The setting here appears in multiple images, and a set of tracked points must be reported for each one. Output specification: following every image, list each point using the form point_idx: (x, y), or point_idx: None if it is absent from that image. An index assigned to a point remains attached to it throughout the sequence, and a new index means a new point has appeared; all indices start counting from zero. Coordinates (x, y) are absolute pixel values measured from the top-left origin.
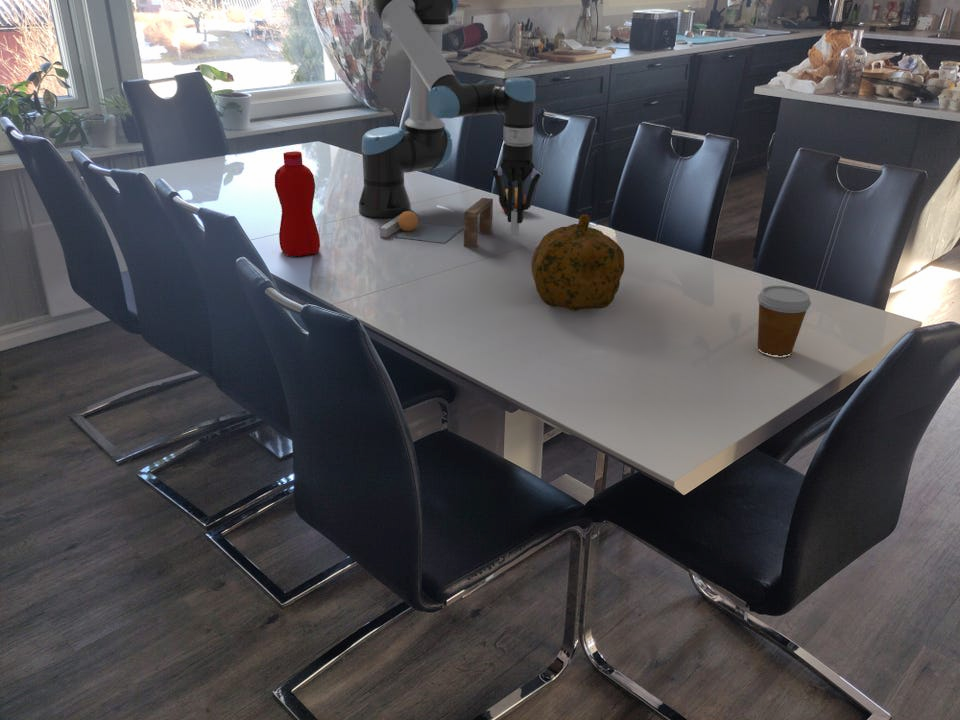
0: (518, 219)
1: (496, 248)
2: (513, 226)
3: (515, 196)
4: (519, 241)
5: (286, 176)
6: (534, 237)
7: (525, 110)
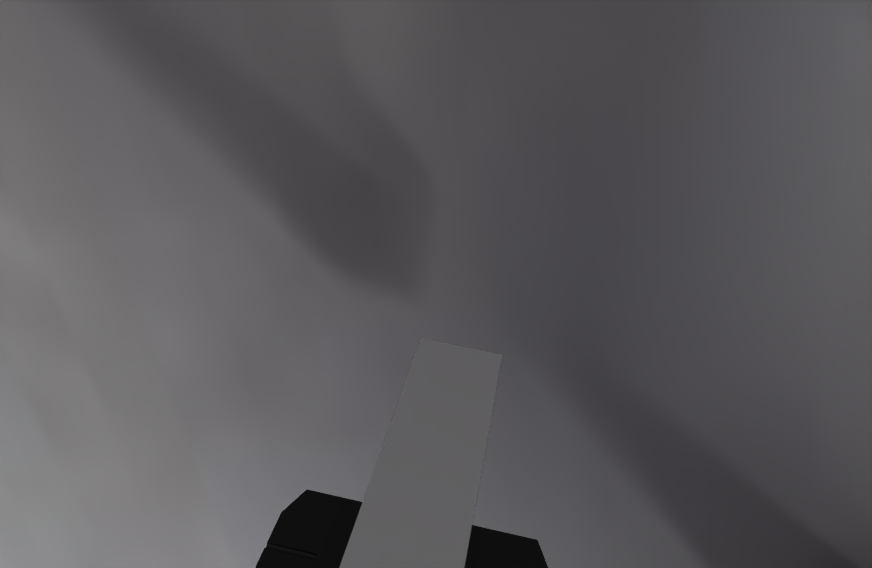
0: (329, 552)
1: (696, 95)
2: (437, 441)
3: None
4: None
5: None
6: None
7: None
